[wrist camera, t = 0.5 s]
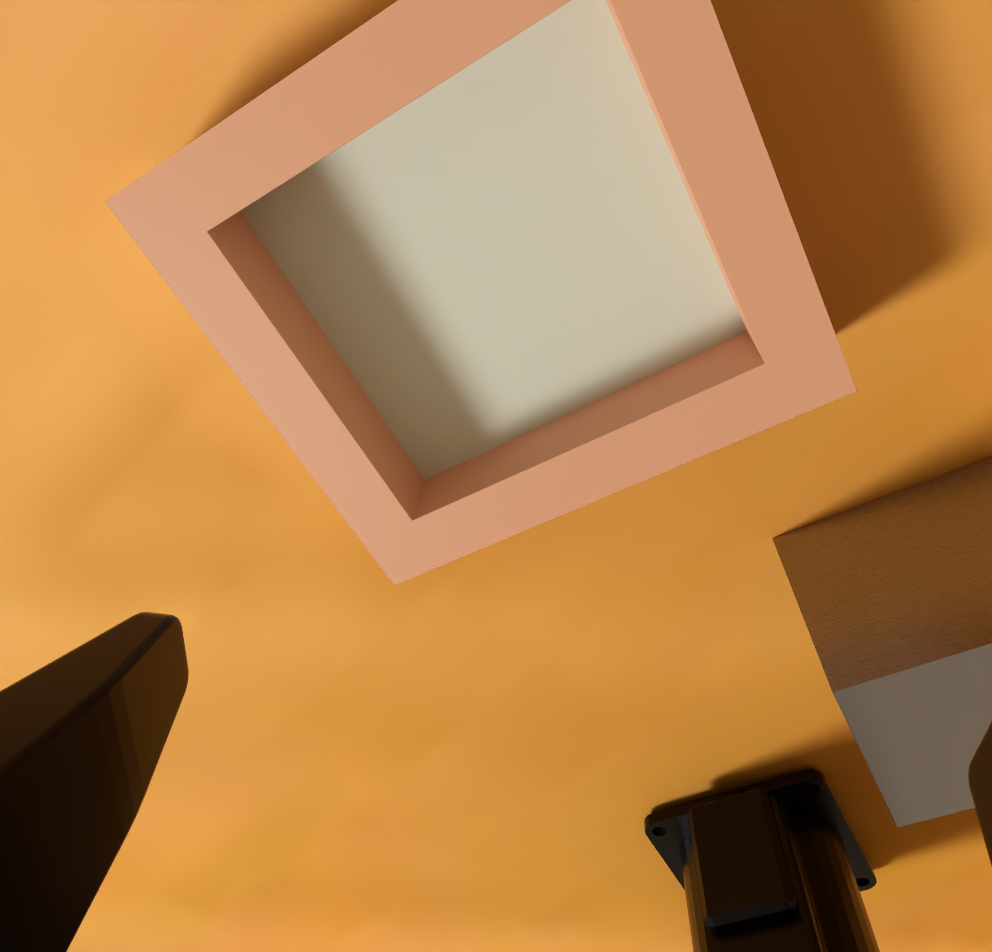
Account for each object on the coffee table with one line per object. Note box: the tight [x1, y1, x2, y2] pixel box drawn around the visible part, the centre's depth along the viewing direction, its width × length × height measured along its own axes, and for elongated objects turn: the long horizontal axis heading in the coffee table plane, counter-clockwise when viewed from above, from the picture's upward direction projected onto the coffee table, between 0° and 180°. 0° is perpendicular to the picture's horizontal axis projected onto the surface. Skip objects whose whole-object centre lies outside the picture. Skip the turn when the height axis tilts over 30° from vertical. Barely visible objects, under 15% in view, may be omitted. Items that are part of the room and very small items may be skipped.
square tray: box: [105, 0, 856, 585], centre depth 18 cm, size 11×12×3 cm
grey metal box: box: [772, 456, 992, 827], centre depth 20 cm, size 5×6×6 cm
